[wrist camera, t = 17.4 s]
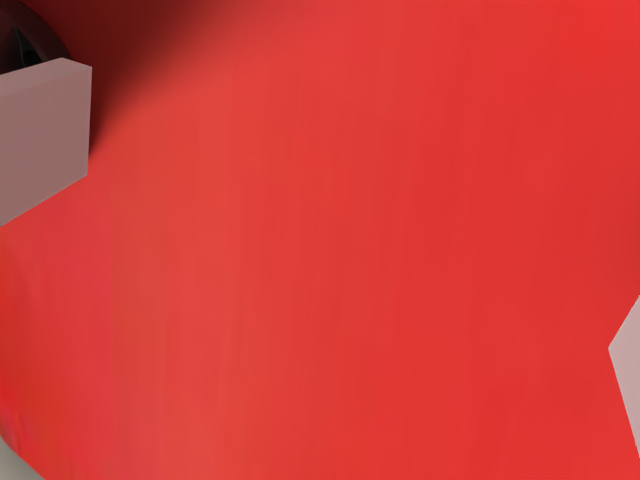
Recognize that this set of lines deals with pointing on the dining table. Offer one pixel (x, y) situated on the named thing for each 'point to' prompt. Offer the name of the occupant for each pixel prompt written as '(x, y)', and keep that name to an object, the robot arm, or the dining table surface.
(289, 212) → the dining table surface
